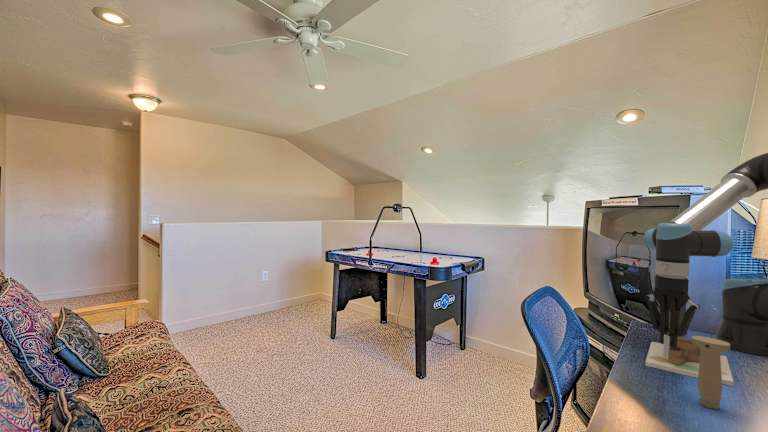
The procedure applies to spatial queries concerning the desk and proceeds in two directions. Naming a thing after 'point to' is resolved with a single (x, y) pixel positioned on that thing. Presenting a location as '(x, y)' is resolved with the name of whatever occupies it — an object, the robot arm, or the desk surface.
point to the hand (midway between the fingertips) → (668, 356)
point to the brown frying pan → (684, 352)
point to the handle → (710, 369)
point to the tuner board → (687, 368)
